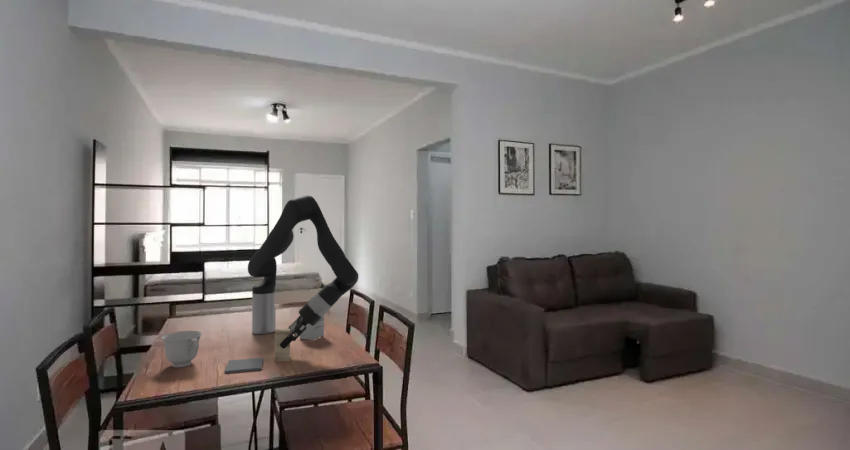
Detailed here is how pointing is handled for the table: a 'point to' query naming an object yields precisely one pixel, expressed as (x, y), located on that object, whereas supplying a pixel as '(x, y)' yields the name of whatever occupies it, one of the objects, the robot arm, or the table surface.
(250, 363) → the slate coaster
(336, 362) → the table surface
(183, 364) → the teacup
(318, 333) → the supplement box
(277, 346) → the beech block
